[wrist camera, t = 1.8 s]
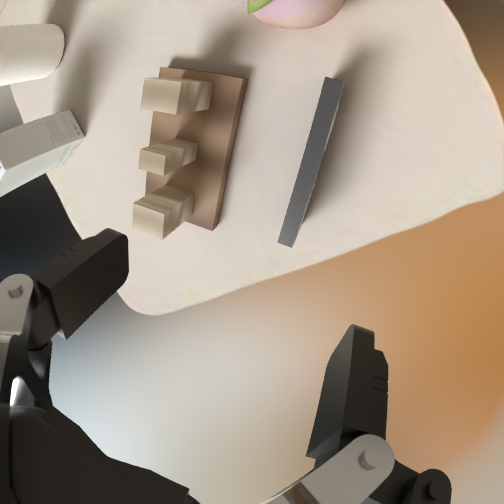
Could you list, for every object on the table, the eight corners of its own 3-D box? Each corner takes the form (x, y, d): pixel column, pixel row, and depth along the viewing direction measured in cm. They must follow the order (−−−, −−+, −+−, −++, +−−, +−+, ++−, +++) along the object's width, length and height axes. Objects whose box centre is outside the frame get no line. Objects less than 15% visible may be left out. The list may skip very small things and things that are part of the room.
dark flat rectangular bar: (330, 81, 26) (325, 76, 21) (344, 85, 25) (343, 82, 20) (289, 218, 34) (277, 242, 29) (302, 223, 34) (292, 247, 29)
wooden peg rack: (167, 67, 29) (122, 66, 23) (247, 79, 28) (215, 75, 21) (151, 202, 39) (112, 227, 32) (217, 225, 38) (186, 257, 31)
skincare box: (71, 108, 36) (-11, 131, 23) (87, 138, 37) (4, 169, 25) (50, 140, 40) (-22, 168, 27) (64, 167, 41) (-8, 202, 29)
